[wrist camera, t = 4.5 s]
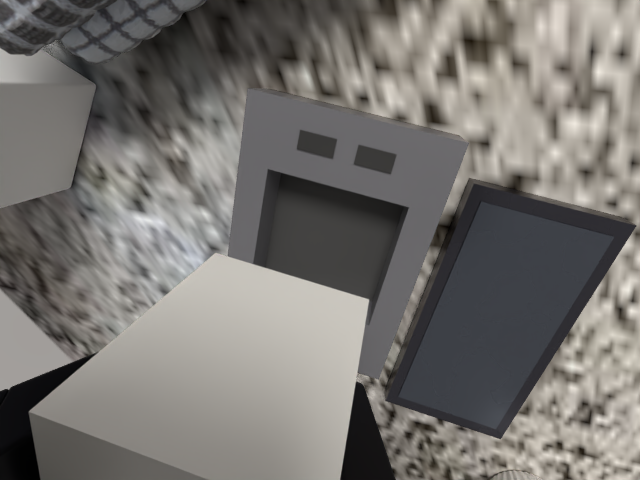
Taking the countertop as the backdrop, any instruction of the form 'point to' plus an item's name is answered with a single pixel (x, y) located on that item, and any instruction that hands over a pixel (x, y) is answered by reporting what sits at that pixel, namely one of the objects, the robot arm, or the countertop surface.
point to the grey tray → (341, 202)
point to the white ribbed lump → (515, 476)
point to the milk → (40, 125)
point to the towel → (86, 24)
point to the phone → (501, 303)
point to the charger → (213, 385)
